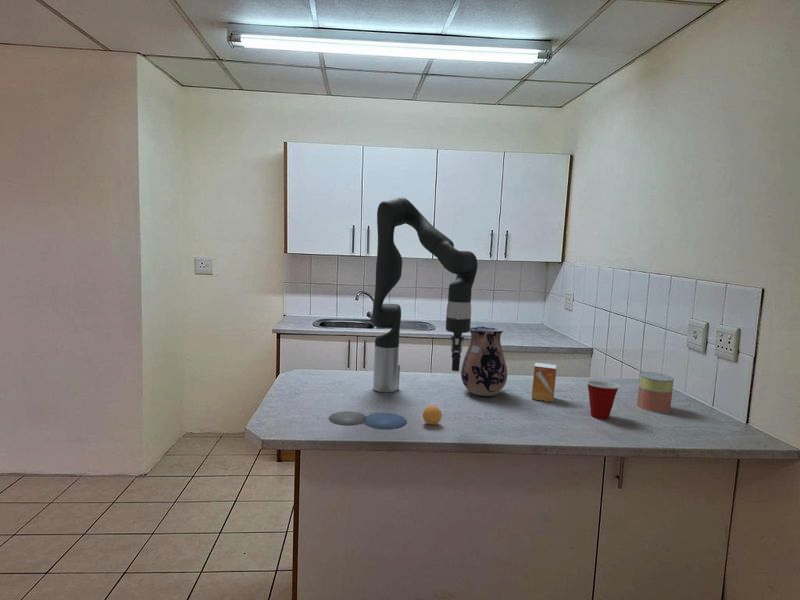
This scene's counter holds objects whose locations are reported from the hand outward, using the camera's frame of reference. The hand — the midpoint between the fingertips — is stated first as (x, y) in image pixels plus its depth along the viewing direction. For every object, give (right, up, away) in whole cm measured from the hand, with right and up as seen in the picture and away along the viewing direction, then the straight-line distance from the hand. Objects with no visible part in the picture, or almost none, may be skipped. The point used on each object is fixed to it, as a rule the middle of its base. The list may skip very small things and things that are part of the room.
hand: (455, 367), depth 160 cm
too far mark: (-34, -17, +5) cm, 39 cm away
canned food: (+77, -19, +31) cm, 85 cm away
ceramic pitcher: (+14, -15, +41) cm, 46 cm away
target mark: (-22, -18, +5) cm, 29 cm away
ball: (-7, -16, +3) cm, 17 cm away
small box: (+37, -17, +36) cm, 54 cm away
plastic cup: (+52, -20, +18) cm, 58 cm away
